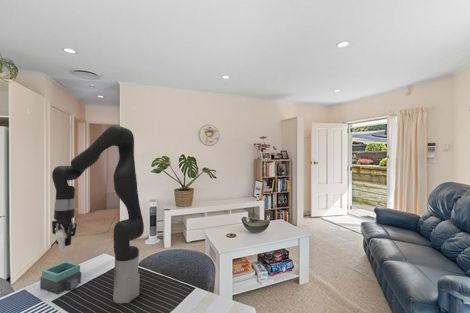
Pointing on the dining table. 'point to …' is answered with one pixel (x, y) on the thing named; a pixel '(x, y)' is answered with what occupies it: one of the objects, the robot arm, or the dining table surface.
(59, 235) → the lightbulb
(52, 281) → the teal and grey box
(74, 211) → the robot arm
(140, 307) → the dining table surface
